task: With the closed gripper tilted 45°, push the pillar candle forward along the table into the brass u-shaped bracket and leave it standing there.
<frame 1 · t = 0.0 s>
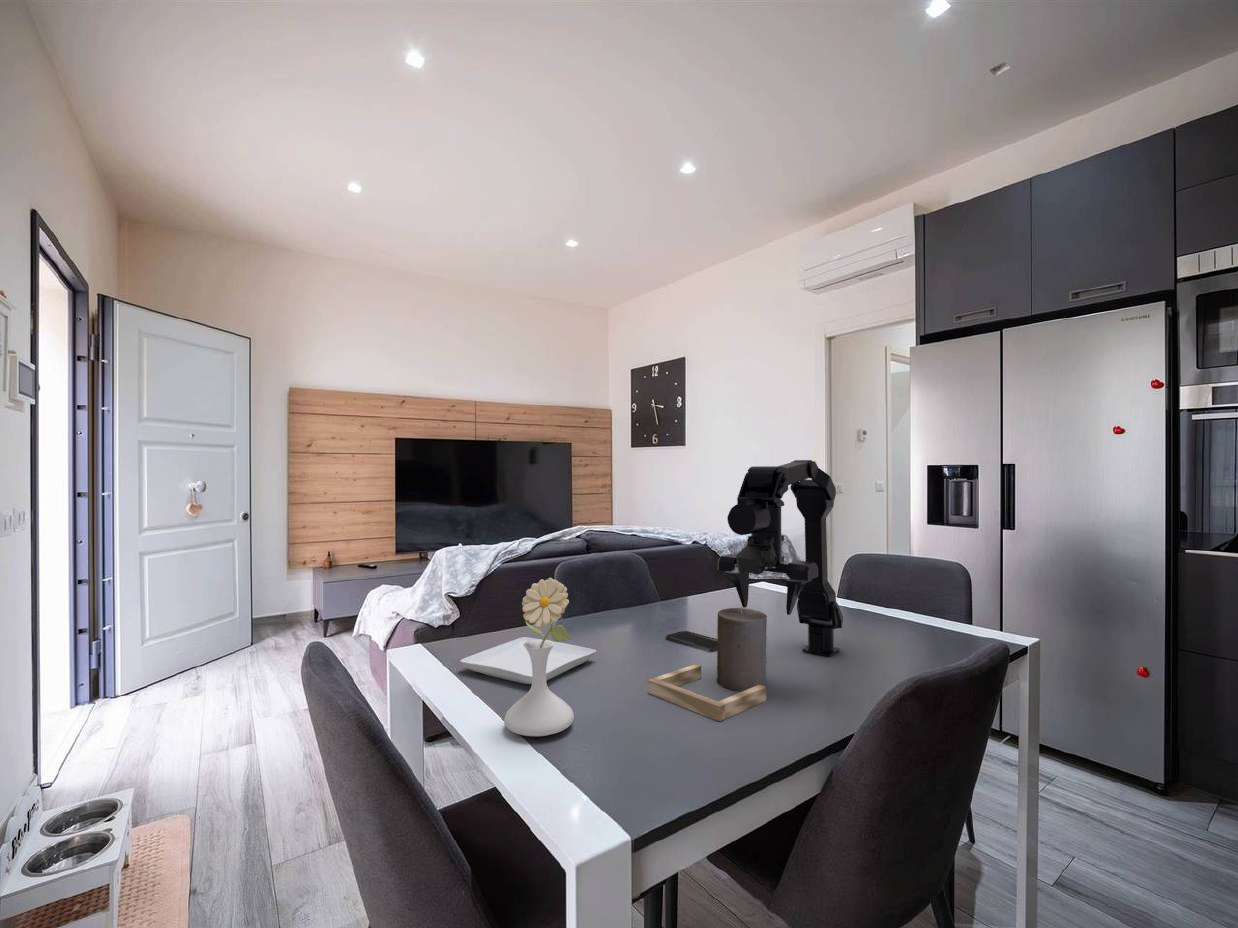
hand: (766, 610, 116), 15 cm above the table, tool pointing down, fingers open, 9 cm apart
salad plate: (529, 670, 127), on the table
flower in vase: (542, 730, 98), on the table
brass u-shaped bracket: (708, 695, 112), on the table
phone: (696, 644, 145), on the table
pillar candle: (742, 683, 118), on the table
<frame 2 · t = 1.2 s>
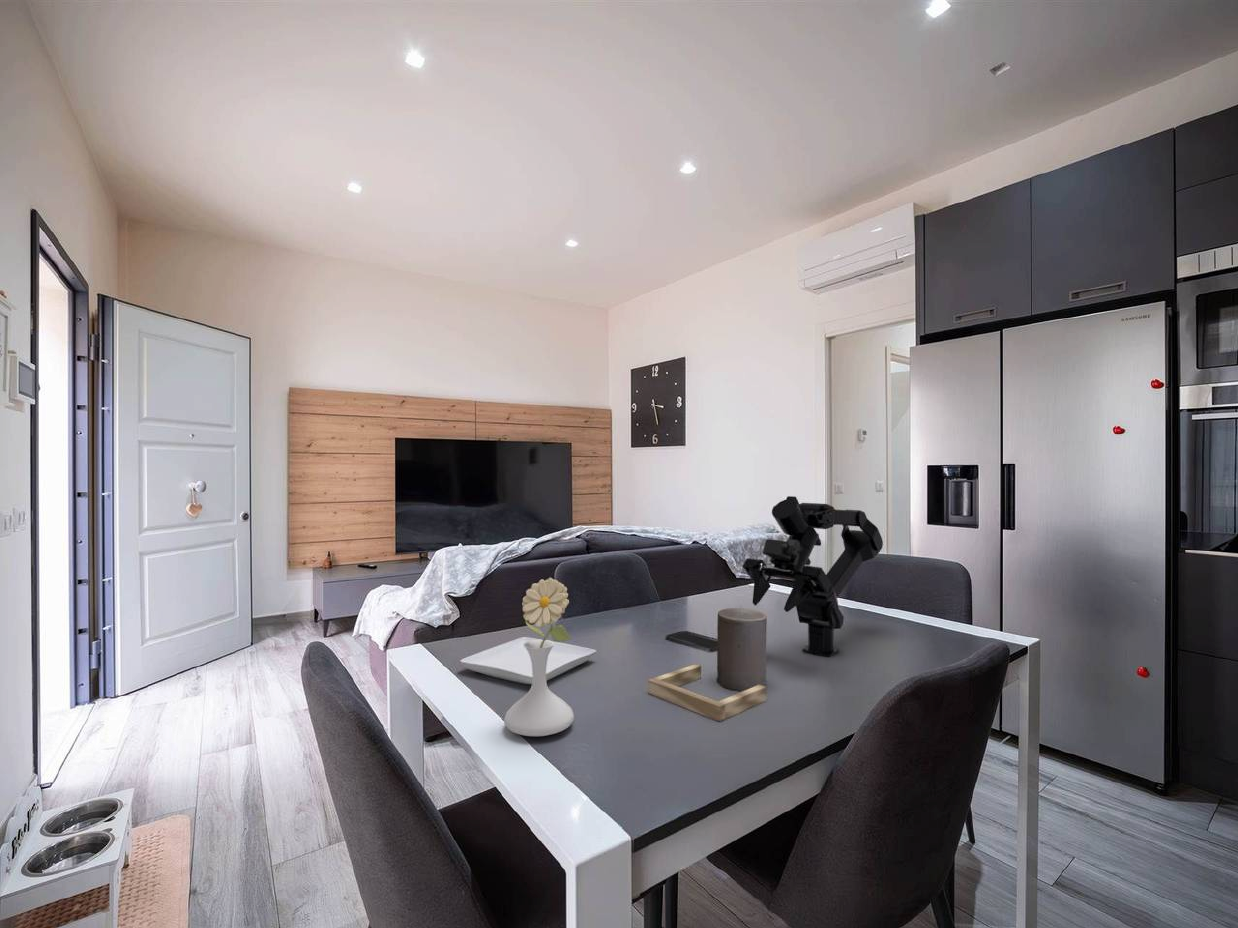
hand: (769, 607, 125), 13 cm above the table, tool tilted 45°, fingers open, 7 cm apart
nothing on the table moved.
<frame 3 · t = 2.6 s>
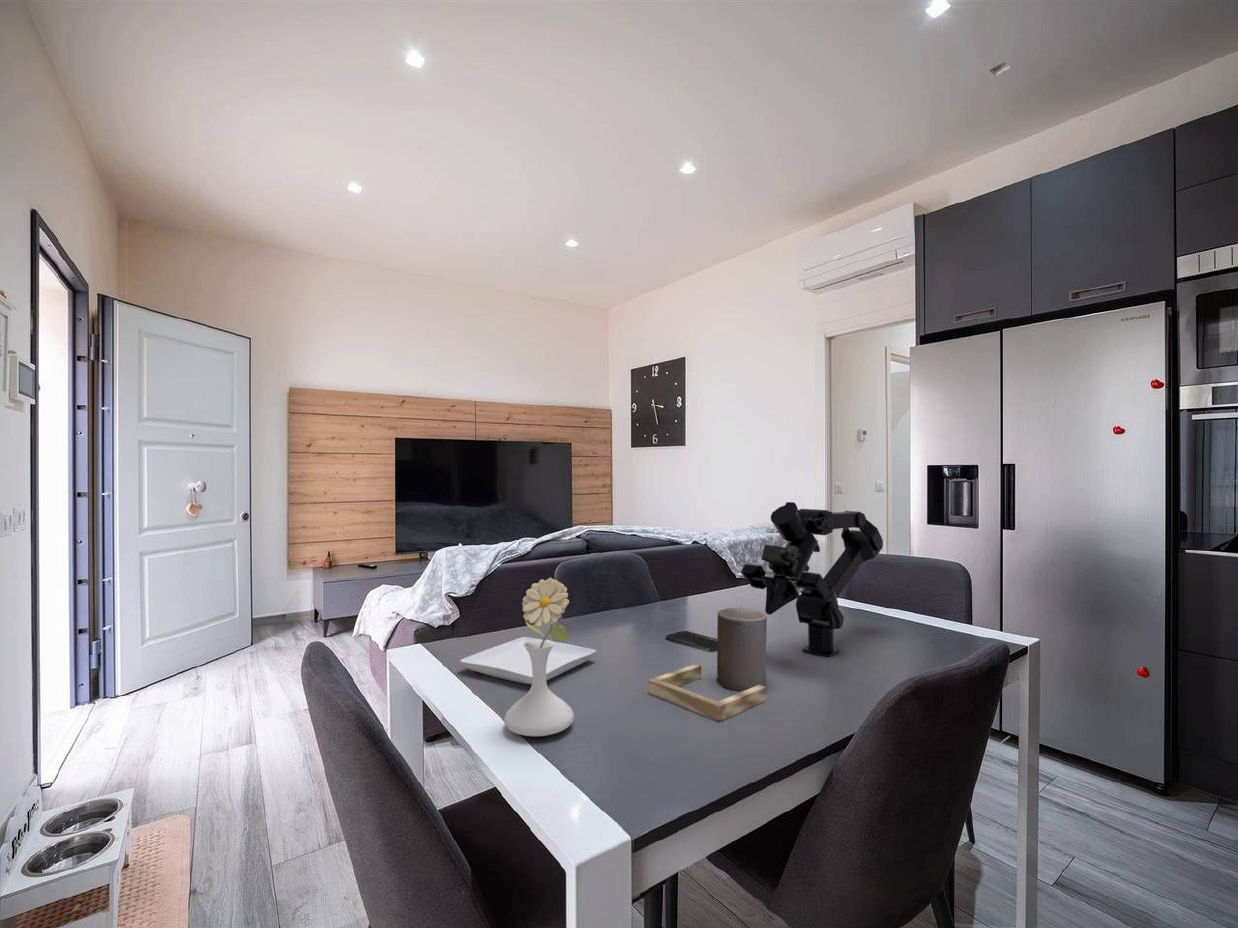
hand: (767, 613, 124), 12 cm above the table, tool tilted 45°, fingers closed
nothing on the table moved.
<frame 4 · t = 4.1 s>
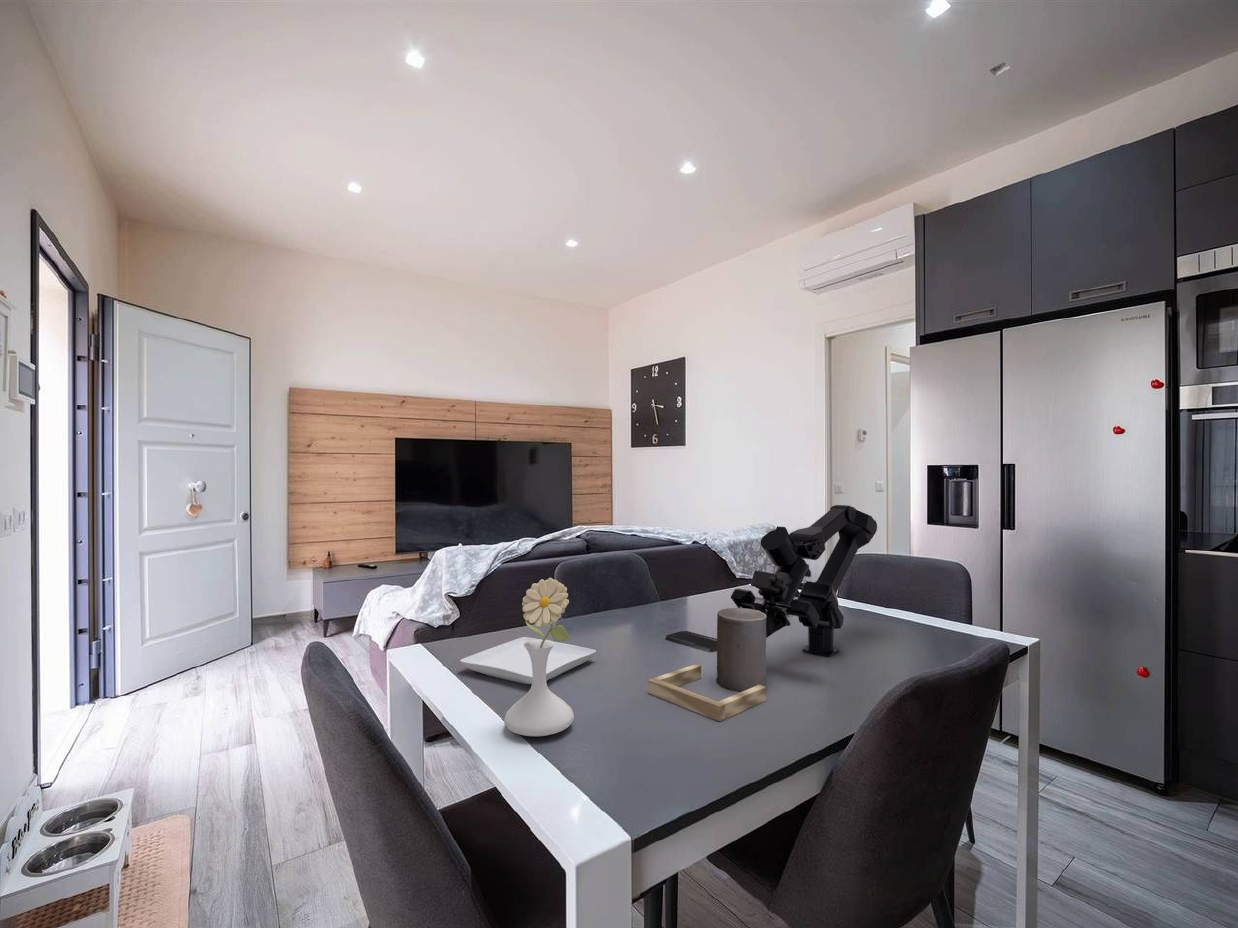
hand: (756, 641, 122), 7 cm above the table, tool tilted 45°, fingers closed, pressing on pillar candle
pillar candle: (741, 683, 118), on the table, touching gripper
everything else where it was.
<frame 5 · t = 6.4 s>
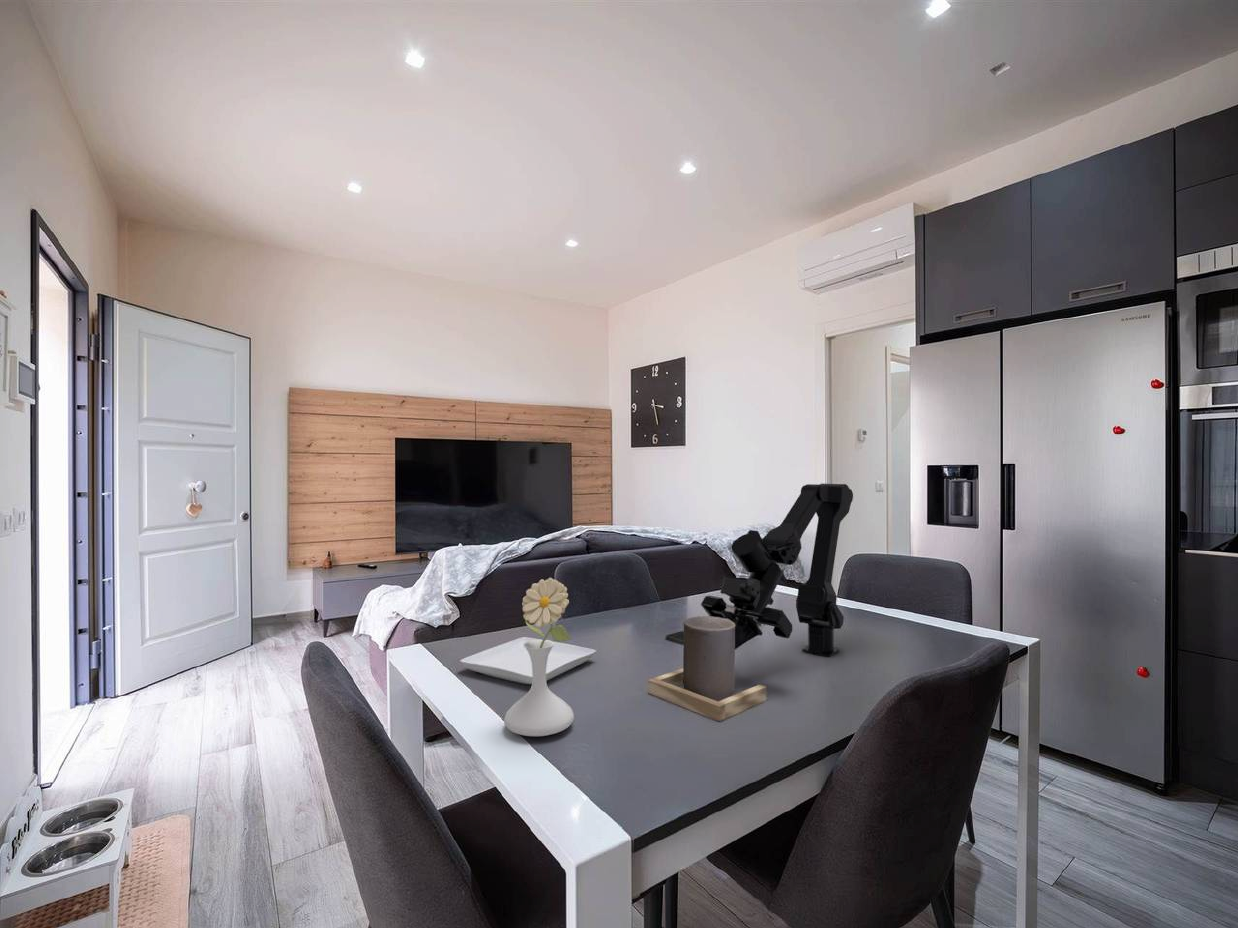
hand: (726, 651, 115), 7 cm above the table, tool tilted 45°, fingers closed
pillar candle: (709, 696, 112), on the table, touching gripper
everything else where it was.
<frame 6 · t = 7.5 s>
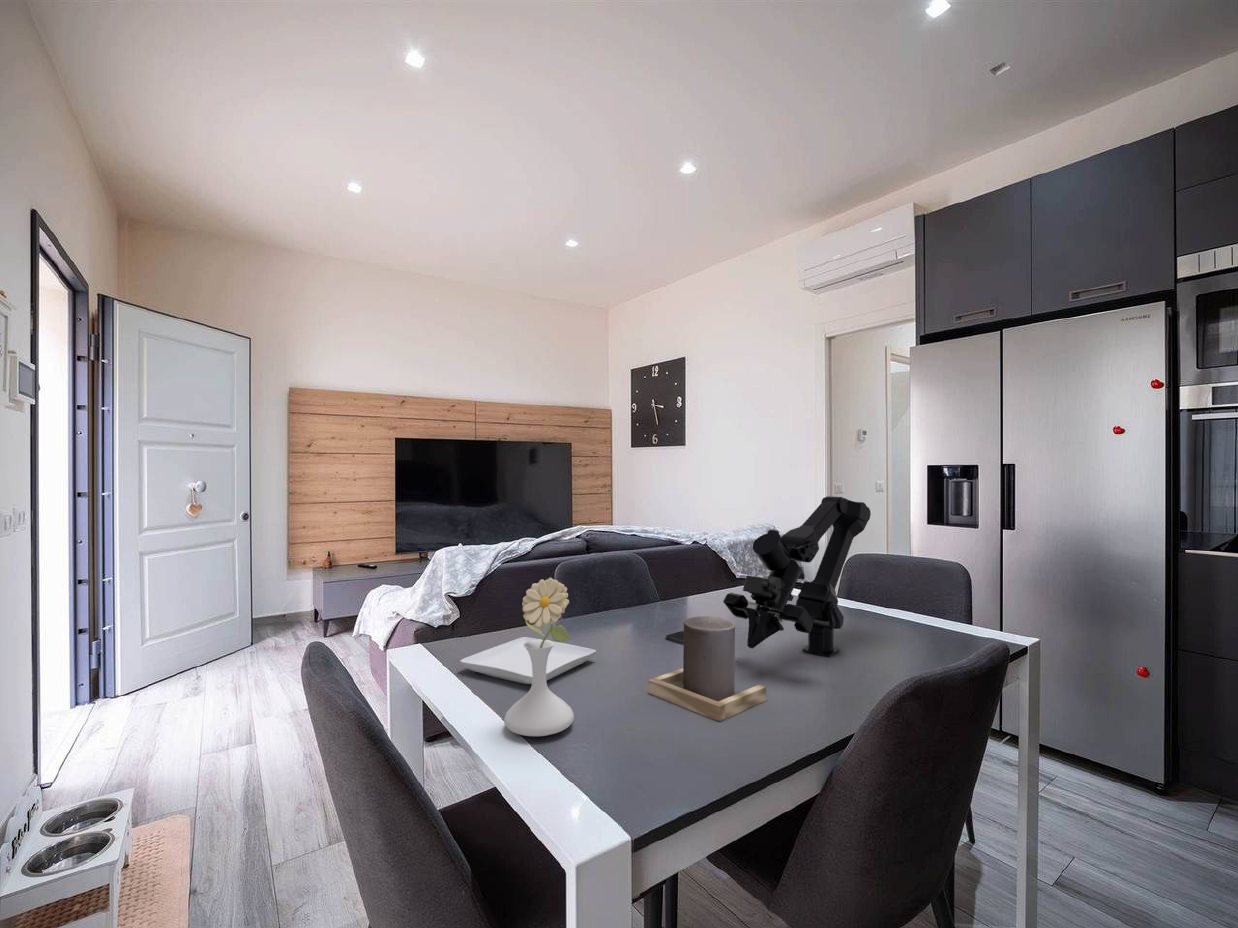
hand: (749, 647, 120), 7 cm above the table, tool tilted 45°, fingers closed
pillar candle: (709, 696, 112), on the table
everything else where it was.
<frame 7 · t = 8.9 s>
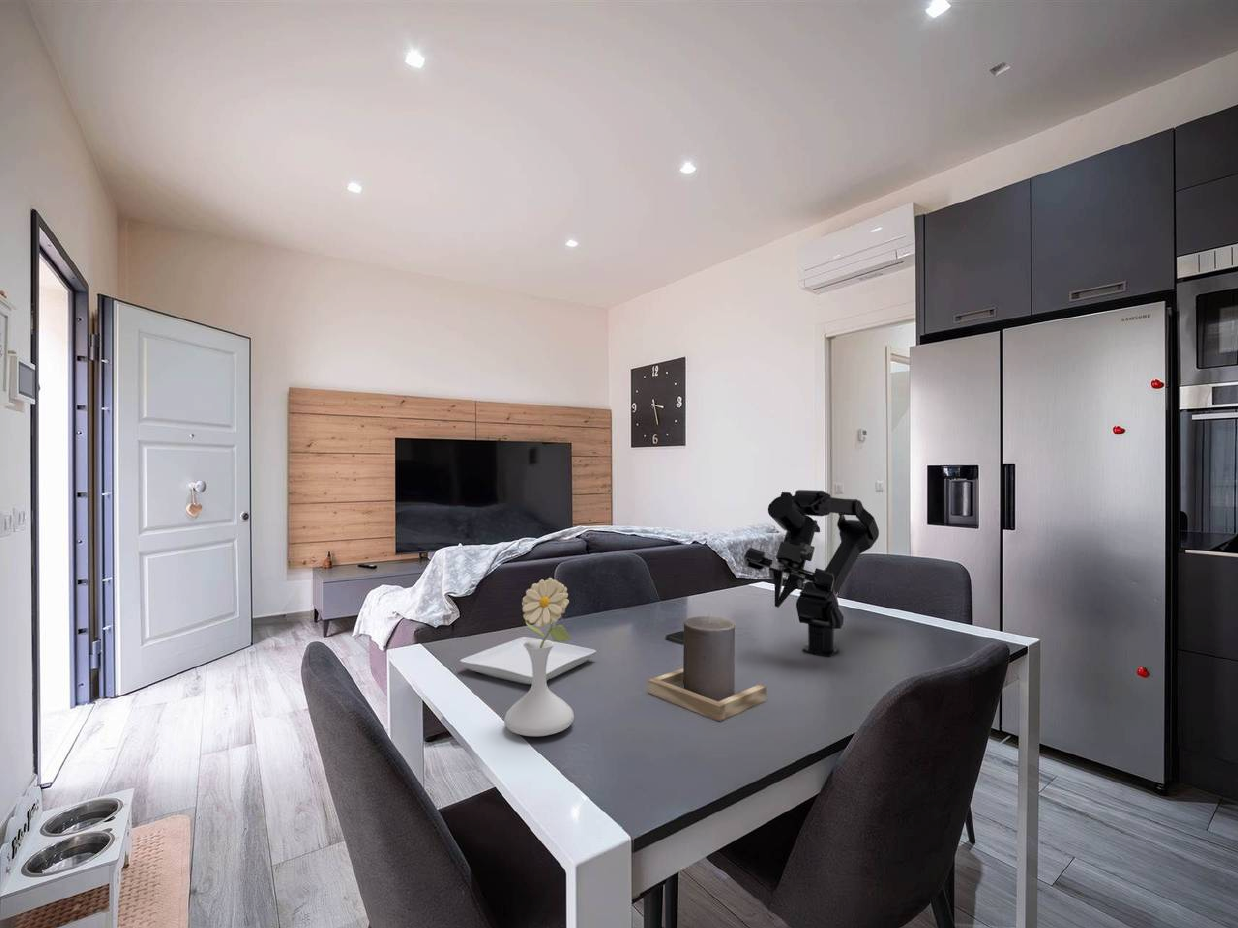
hand: (776, 606, 126), 13 cm above the table, tool tilted 35°, fingers closed
nothing on the table moved.
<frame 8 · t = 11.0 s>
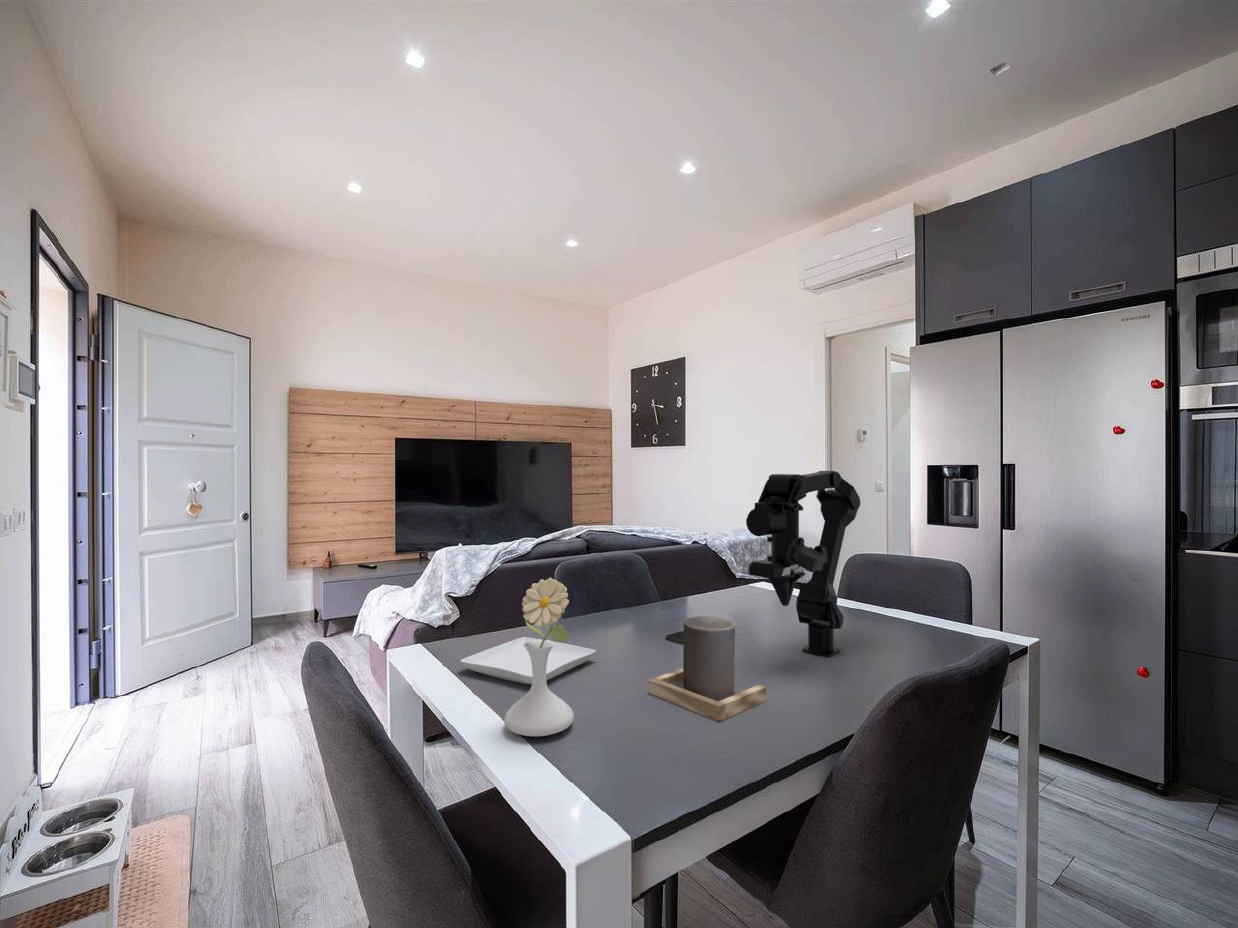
hand: (785, 605, 128), 13 cm above the table, tool pointing down, fingers closed
nothing on the table moved.
at the end: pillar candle inside the target area on the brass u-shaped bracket (0.1 cm from its centre), point 0.0 cm above the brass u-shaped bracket's base; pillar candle tilted 0° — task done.
